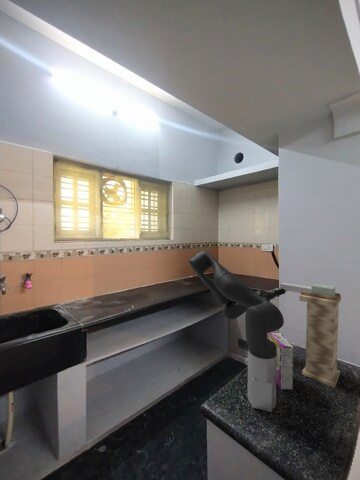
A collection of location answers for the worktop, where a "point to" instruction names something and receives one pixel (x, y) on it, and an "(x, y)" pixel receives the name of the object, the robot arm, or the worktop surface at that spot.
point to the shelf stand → (321, 337)
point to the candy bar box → (283, 361)
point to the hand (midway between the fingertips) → (287, 288)
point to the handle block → (310, 289)
